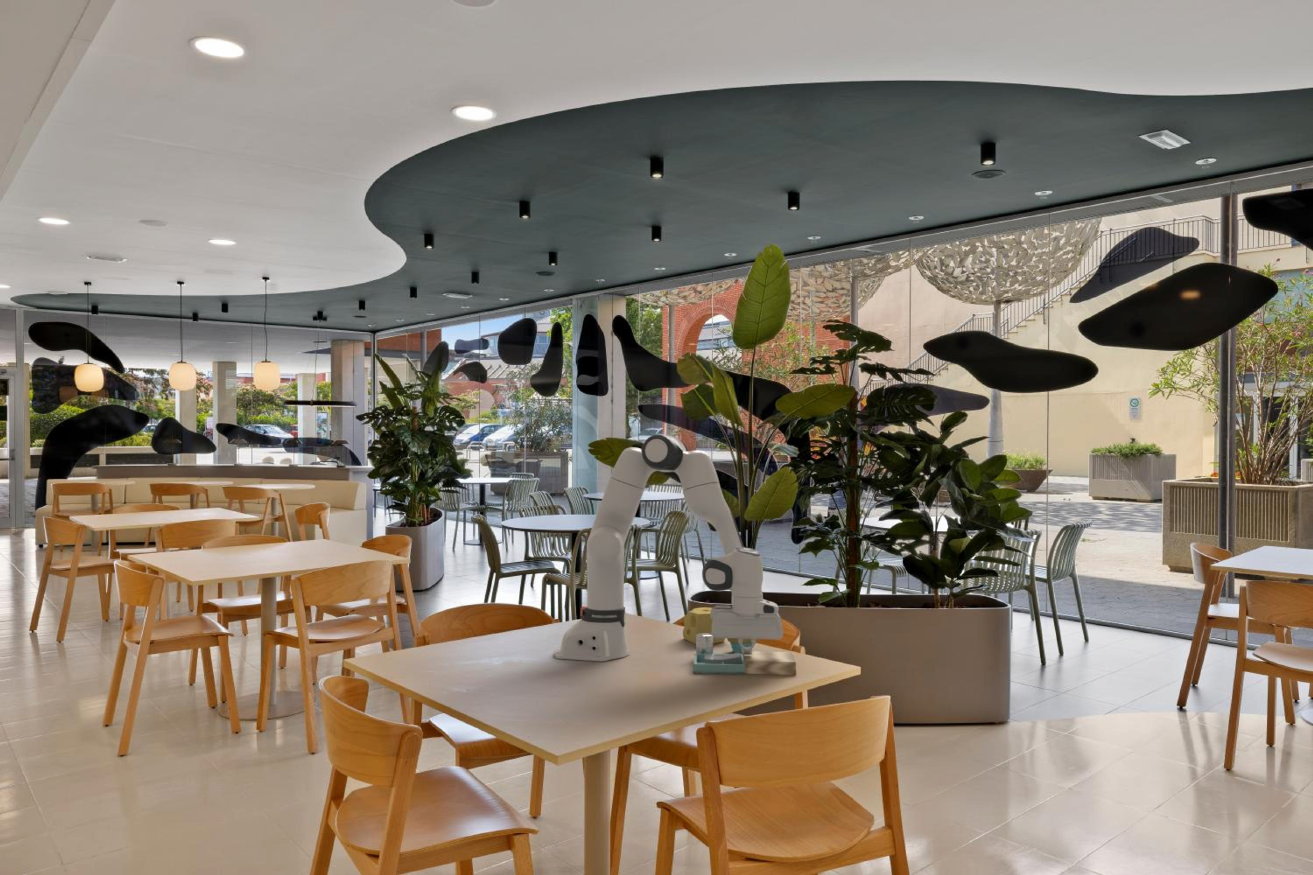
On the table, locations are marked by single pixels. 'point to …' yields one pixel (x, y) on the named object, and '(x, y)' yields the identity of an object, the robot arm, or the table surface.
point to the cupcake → (736, 646)
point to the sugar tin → (704, 643)
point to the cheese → (698, 624)
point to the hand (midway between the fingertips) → (746, 653)
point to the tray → (717, 666)
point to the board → (770, 663)
